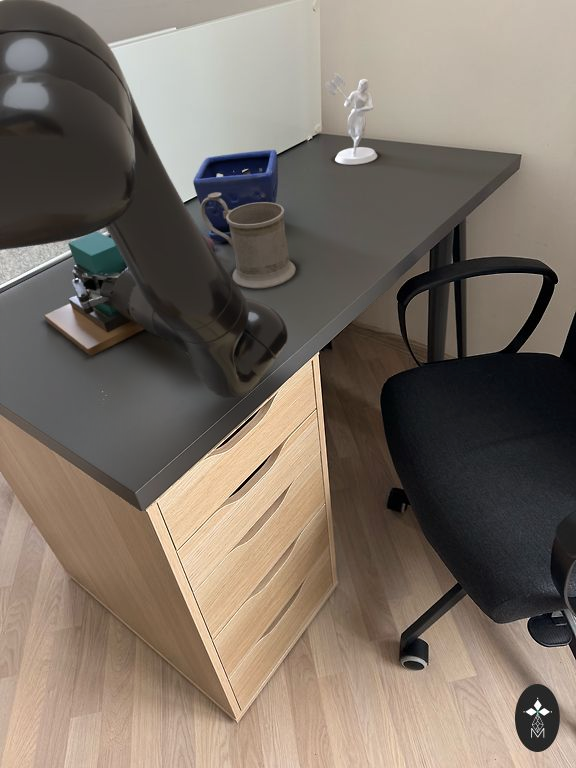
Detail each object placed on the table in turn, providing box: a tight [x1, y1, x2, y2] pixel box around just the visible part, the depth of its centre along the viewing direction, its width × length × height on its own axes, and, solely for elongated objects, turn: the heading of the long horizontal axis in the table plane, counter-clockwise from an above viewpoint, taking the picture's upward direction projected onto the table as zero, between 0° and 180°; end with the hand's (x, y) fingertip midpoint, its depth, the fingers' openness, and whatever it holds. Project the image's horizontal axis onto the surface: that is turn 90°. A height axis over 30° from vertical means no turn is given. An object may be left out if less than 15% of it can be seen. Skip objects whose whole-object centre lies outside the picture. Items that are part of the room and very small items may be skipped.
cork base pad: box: [43, 294, 145, 357], centre depth 83 cm, size 16×14×3 cm
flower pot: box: [192, 149, 279, 243], centre depth 99 cm, size 13×13×12 cm
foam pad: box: [67, 231, 125, 317], centre depth 80 cm, size 4×7×10 cm, turn 43°
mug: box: [200, 192, 297, 290], centre depth 86 cm, size 14×10×12 cm
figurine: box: [324, 72, 378, 166], centre depth 123 cm, size 10×10×18 cm
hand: (94, 264), depth 81 cm, fingers closed on foam pad, 4 cm apart
